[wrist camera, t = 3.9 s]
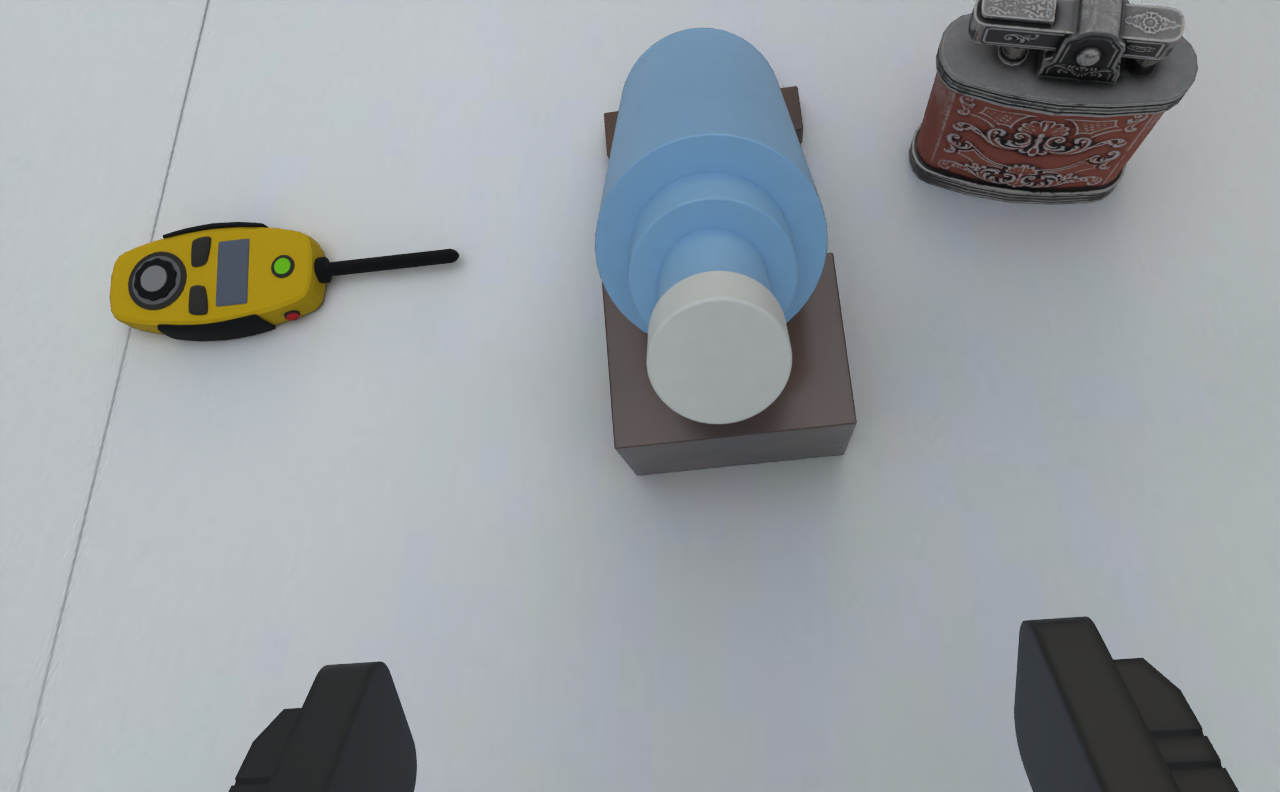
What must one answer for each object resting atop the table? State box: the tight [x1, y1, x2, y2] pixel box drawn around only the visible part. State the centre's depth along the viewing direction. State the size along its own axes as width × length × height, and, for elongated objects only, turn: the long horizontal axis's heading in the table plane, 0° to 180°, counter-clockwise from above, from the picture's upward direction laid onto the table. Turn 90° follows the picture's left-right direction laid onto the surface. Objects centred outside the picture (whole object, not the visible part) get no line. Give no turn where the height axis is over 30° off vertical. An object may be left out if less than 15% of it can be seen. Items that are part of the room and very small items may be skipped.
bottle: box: [595, 28, 827, 424], centre depth 31 cm, size 18×6×18 cm, turn 5°
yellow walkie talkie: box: [110, 222, 459, 341], centre depth 41 cm, size 5×2×15 cm
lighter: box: [909, 0, 1198, 204], centre depth 35 cm, size 8×3×10 cm, turn 79°
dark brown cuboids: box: [602, 86, 856, 475], centre depth 37 cm, size 8×15×6 cm, turn 5°
